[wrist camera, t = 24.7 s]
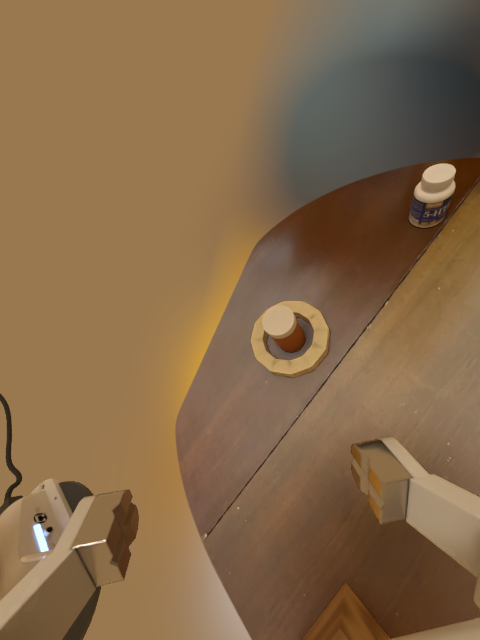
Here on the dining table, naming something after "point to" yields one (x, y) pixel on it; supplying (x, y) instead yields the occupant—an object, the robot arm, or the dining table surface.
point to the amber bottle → (283, 328)
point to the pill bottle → (432, 196)
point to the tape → (311, 355)
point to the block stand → (346, 620)
